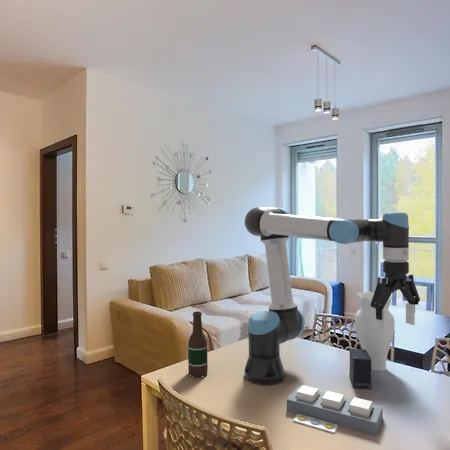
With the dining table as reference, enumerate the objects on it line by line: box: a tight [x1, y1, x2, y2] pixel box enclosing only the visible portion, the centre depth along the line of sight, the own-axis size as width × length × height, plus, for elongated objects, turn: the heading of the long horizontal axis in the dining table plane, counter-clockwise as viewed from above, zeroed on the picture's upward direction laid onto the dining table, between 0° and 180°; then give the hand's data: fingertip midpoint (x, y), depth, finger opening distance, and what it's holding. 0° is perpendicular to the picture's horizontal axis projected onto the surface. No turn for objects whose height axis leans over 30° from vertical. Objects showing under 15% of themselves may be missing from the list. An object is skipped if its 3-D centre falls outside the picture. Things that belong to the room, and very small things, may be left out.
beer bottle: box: [187, 310, 209, 378], centre depth 141 cm, size 8×8×24 cm
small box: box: [349, 347, 372, 390], centre depth 132 cm, size 11×6×10 cm, turn 168°
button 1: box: [297, 384, 320, 403], centre depth 114 cm, size 5×5×2 cm
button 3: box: [350, 396, 373, 417], centre depth 106 cm, size 5×5×2 cm
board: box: [286, 386, 384, 436], centre depth 110 cm, size 26×10×4 cm, turn 58°
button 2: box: [322, 390, 345, 410], centre depth 110 cm, size 5×5×2 cm
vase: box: [354, 291, 396, 372], centre depth 145 cm, size 15×15×29 cm
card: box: [292, 413, 339, 434], centre depth 105 cm, size 12×4×1 cm, turn 58°
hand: (396, 326), depth 117 cm, fingers open, 13 cm apart
